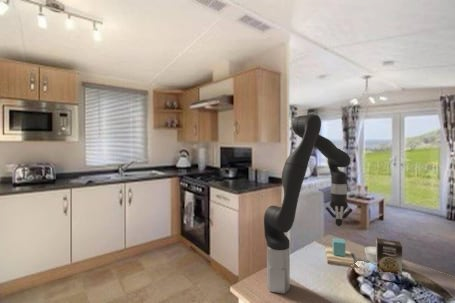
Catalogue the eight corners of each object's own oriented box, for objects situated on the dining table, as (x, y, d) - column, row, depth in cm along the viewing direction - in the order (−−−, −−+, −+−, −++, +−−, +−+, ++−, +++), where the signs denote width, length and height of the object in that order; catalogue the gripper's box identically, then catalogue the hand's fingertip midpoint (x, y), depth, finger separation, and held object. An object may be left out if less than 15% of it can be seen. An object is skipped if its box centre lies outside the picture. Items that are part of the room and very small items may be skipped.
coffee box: (376, 279, 103) (376, 242, 103) (375, 272, 109) (375, 237, 108) (402, 284, 99) (402, 246, 98) (399, 277, 105) (399, 240, 104)
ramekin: (359, 258, 122) (359, 248, 122) (373, 254, 126) (373, 244, 126) (382, 269, 112) (382, 258, 111) (396, 263, 116) (396, 253, 116)
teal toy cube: (345, 256, 119) (345, 243, 119) (333, 254, 121) (333, 242, 121) (343, 251, 124) (343, 239, 124) (332, 250, 126) (332, 238, 126)
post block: (354, 267, 113) (354, 249, 113) (327, 263, 117) (327, 246, 117) (349, 252, 128) (349, 237, 128) (325, 249, 132) (325, 234, 132)
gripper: (325, 193, 120) (325, 226, 121) (354, 194, 116) (354, 229, 117) (324, 190, 127) (324, 222, 128) (351, 191, 123) (351, 224, 124)
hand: (338, 225), depth 122 cm, fingers closed
